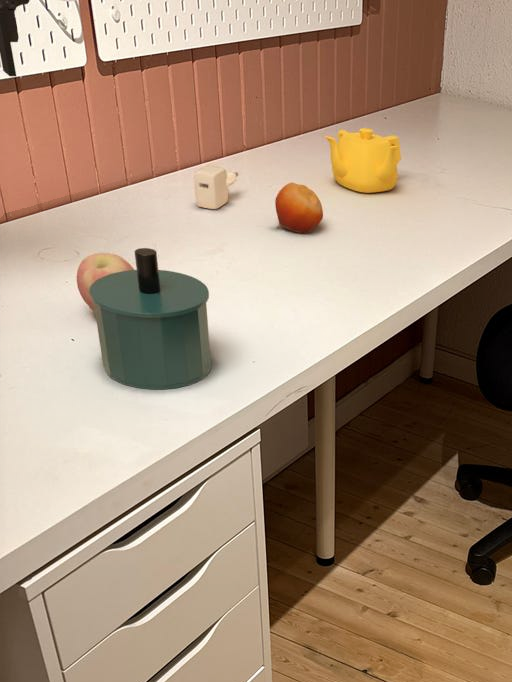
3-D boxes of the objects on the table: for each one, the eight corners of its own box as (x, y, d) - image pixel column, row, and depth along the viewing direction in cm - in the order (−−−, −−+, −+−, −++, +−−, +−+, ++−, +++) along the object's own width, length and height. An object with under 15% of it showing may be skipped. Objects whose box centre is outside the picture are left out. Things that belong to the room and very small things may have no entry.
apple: (70, 313, 127) (59, 252, 122) (120, 300, 132) (112, 241, 127) (105, 333, 124) (96, 271, 118) (155, 319, 128) (149, 259, 123)
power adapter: (218, 190, 172) (216, 155, 168) (244, 194, 172) (242, 159, 168) (192, 207, 164) (189, 170, 160) (219, 212, 163) (216, 175, 160)
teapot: (323, 191, 179) (323, 133, 172) (335, 171, 189) (336, 116, 182) (395, 201, 179) (398, 143, 172) (404, 181, 189) (407, 126, 183)
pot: (89, 353, 119) (78, 281, 113) (187, 338, 125) (180, 269, 119) (126, 397, 112) (115, 322, 106) (227, 378, 118) (223, 307, 112)
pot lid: (74, 285, 114) (66, 237, 110) (183, 272, 120) (178, 226, 117) (114, 329, 106) (107, 279, 102) (228, 313, 112) (225, 265, 109)
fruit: (274, 207, 164) (297, 168, 159) (312, 238, 166) (335, 201, 161) (257, 220, 158) (280, 181, 153) (296, 253, 160) (320, 215, 155)
